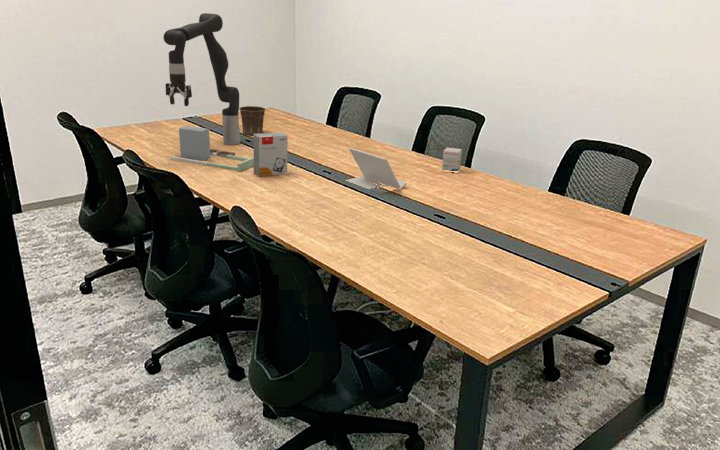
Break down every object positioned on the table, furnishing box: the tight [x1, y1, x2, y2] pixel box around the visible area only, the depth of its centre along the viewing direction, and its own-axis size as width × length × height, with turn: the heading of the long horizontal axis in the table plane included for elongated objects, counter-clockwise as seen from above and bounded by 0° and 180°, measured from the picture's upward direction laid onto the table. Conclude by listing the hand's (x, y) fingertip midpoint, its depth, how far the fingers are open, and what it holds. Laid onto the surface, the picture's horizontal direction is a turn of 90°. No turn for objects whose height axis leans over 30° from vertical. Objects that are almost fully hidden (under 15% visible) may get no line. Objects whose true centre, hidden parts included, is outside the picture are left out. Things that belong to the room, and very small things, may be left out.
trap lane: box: [169, 148, 254, 173], centre depth 311 cm, size 26×44×4 cm, turn 68°
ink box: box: [441, 147, 463, 171], centre depth 309 cm, size 9×8×12 cm
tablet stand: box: [344, 147, 407, 190], centre depth 280 cm, size 18×25×17 cm
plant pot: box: [239, 105, 266, 136], centre depth 370 cm, size 16×16×16 cm
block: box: [178, 125, 212, 162], centre depth 311 cm, size 7×14×16 cm, turn 68°
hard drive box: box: [252, 132, 289, 177], centre depth 290 cm, size 16×8×20 cm, turn 117°
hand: (179, 105), depth 297 cm, fingers open, 8 cm apart
